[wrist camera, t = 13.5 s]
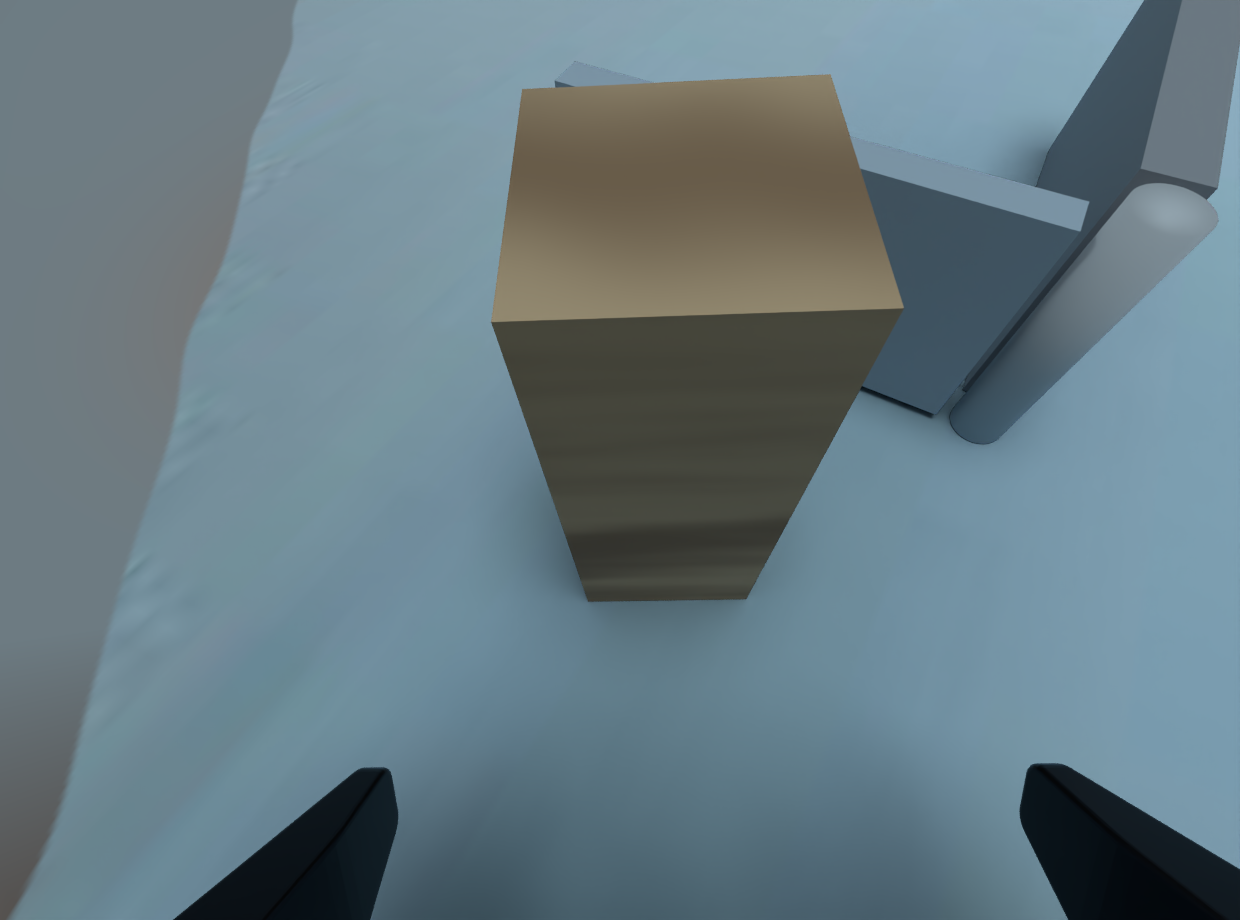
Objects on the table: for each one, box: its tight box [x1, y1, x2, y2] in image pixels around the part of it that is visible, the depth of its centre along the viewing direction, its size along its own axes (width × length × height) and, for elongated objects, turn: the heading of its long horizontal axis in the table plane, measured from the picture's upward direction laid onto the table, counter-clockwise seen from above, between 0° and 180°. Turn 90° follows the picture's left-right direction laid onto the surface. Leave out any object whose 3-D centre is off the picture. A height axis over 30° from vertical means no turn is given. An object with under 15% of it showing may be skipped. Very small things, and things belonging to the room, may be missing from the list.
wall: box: [950, 0, 1240, 444], centre depth 20 cm, size 18×2×9 cm, turn 150°
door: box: [555, 61, 1089, 415], centre depth 20 cm, size 15×2×8 cm, turn 60°
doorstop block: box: [491, 74, 904, 602], centre depth 14 cm, size 5×5×13 cm
